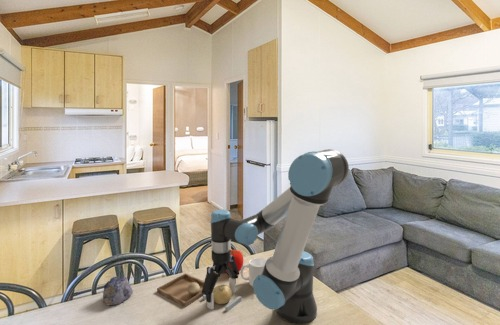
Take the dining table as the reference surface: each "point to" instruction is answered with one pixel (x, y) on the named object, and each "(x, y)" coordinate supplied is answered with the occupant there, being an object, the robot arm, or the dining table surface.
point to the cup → (254, 269)
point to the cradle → (229, 303)
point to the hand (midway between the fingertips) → (221, 300)
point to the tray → (181, 290)
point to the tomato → (237, 259)
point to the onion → (222, 294)
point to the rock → (117, 290)
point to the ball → (193, 288)
